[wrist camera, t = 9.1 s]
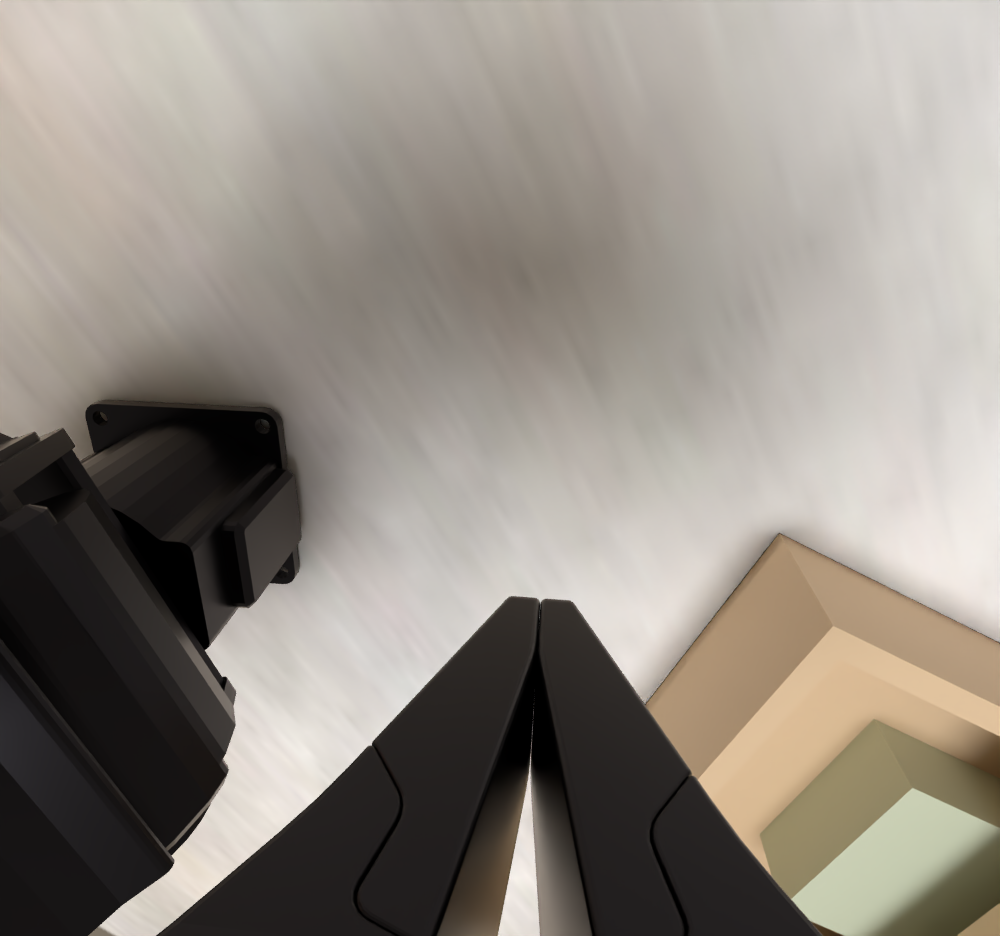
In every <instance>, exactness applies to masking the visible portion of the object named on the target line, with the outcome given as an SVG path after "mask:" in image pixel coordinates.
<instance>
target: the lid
mask: <svg viewBox="0 0 1000 936" xmlns="http://www.w3.org/2000/svg"><path fill="white" fill-rule="evenodd" d="M957 936H1000V903H999V904H998V905H996V906H995V907H994V908H992V909H991V910H990V911H988V912H987V913H986V914H984V915H983V916H982V917H981V918H979V919H978V920H977V921H975V922H974V923H973V924H971V925H970V926H969V927H967V928H966V929H965V930H963V931H962V932H961V933H959V934H958V935H957Z"/></svg>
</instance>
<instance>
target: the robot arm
mask: <svg viewBox="0 0 1000 936" xmlns="http://www.w3.org/2000/svg"><path fill="white" fill-rule="evenodd" d="M100 411H101V412H103V413H104V414H105V415H106V416H107V418H108V421H105V420H104V419H103V418H102V417H101V414H100ZM85 413H86V421H87V425H88V429H89V433H90V438H91V442H92V446H93V450H94V453H93V454H91V455H90V456H88V457H86V458H85V459H83V460H81V461H79V459H78V458H77V456H76V455H75V453H74V452H73V450H72V449H73V448H74V447H75V445H74V444H73V442H72V440H71V439H70V437H69V436H68V434H67V433H66V431H65V430H64V428H61V429H58V430H56V431H53V432H51V433H48V434H46V435H43V436H41V437H38V435H37V434H36V432H32V433H29V434H27V435H24V436H21V437H19V438H18V437H15V438H11V437H9V436H6V435H4V434H1V433H0V936H88V935H89V934H90V933H92V932H93V931H94V930H95V929H96V928H97V927H98V926H99V925H100V924H102V923H103V922H104V921H105V920H106V919H107V918H108V917H109V916H111V915H112V914H113V913H114V912H115V911H116V910H117V909H118V908H120V907H121V906H122V905H123V904H124V903H126V902H127V901H129V900H130V899H132V898H133V897H134V896H136V895H137V894H139V893H140V892H141V891H143V890H144V889H146V888H147V887H148V886H150V885H151V884H153V883H154V882H155V881H157V880H158V879H160V878H161V877H162V876H164V875H165V874H166V873H168V872H169V870H170V869H171V868H172V866H173V864H174V859H173V857H172V855H173V854H174V852H175V851H176V850H177V849H178V848H179V847H180V846H181V845H182V844H183V843H184V842H185V841H186V840H187V839H188V837H189V836H190V835H191V834H192V832H193V831H194V830H195V828H196V827H197V826H198V824H199V823H200V822H201V820H202V818H203V817H204V815H205V813H206V811H207V810H208V808H209V806H210V804H211V802H212V800H213V799H214V797H215V796H216V794H217V793H218V791H219V790H220V788H221V787H222V785H223V784H224V781H225V779H226V776H227V773H228V770H229V769H228V766H227V764H226V763H225V761H224V760H223V758H224V756H225V754H226V751H227V748H228V746H229V743H230V740H231V737H232V734H233V731H234V728H235V726H236V724H235V716H234V707H233V706H234V701H235V696H236V690H235V689H234V687H233V686H232V684H231V683H230V681H229V680H228V678H227V677H222V676H221V675H220V673H219V672H218V670H217V669H216V667H215V666H214V664H213V663H212V661H211V660H210V658H209V656H208V655H207V653H206V652H205V650H206V649H207V648H208V647H209V646H210V645H211V643H212V642H213V641H214V640H215V638H216V637H217V636H218V634H219V633H220V632H221V630H222V629H223V628H224V626H225V625H226V624H227V622H228V621H229V620H230V618H231V617H232V616H233V614H234V613H235V612H236V610H237V609H238V608H249V607H251V606H252V605H253V604H254V603H255V602H256V601H257V600H258V598H259V597H260V596H261V594H262V593H263V591H264V590H265V589H266V587H267V586H268V585H269V583H276V584H288V583H290V582H292V581H293V579H294V578H295V576H296V575H297V573H298V572H299V561H298V552H297V544H298V543H299V542H300V540H301V527H300V518H299V509H298V501H297V492H296V483H295V476H294V475H293V473H292V472H291V471H290V470H289V469H288V467H287V459H286V450H285V442H284V433H283V425H282V420H281V417H280V416H279V415H278V413H277V412H275V411H274V410H272V409H269V408H261V407H240V406H219V405H198V404H177V403H156V402H135V401H114V400H102V401H98V402H96V403H94V404H92V405H90V406H89V407H88V408H87V410H86V412H85ZM260 419H264V420H266V421H267V422H268V423H269V425H270V429H269V430H268V429H265V428H263V427H262V426H261V424H260ZM281 566H283V567H285V568H286V569H287V570H288V572H284V571H282V570H281V569H280V568H281ZM539 615H540V618H539ZM534 696H535V697H534ZM533 711H534V714H533ZM532 727H533V731H532ZM531 742H532V748H531ZM530 756H531V796H532V812H533V828H534V844H535V861H536V877H537V893H538V909H539V925H540V936H823V935H822V934H821V933H820V932H819V930H818V929H817V928H816V927H815V926H814V925H813V924H812V922H811V921H810V920H809V919H808V918H807V917H806V916H805V914H804V913H803V912H802V911H801V910H800V909H799V908H798V906H797V905H796V904H795V903H794V902H793V901H792V899H791V898H790V897H789V896H788V895H787V894H786V893H785V891H784V890H783V889H782V888H781V887H780V886H779V885H778V883H777V882H776V881H775V880H774V879H773V877H772V876H771V875H770V874H769V873H768V871H767V870H766V869H765V868H764V867H763V865H762V864H761V863H760V862H759V860H758V859H757V858H756V857H755V856H754V854H753V853H752V852H751V851H750V850H749V848H748V847H747V846H746V845H745V844H744V842H743V841H742V840H741V839H740V837H739V836H738V835H737V833H736V832H735V831H734V829H733V828H732V827H731V825H730V824H729V823H728V821H727V820H726V819H725V817H724V816H723V815H722V813H721V812H720V810H719V809H718V808H717V806H716V805H715V804H714V802H713V801H712V800H711V798H710V797H709V795H708V794H707V792H706V791H705V790H704V788H703V787H702V785H701V784H700V782H699V781H698V779H697V778H696V777H695V776H692V772H691V770H690V768H689V767H688V766H687V764H686V763H685V761H684V760H683V758H682V757H681V756H680V754H679V753H678V751H677V750H676V748H675V747H674V746H673V744H672V743H671V741H670V740H669V738H668V737H667V736H666V734H665V733H664V731H663V730H662V728H661V727H660V726H659V724H658V723H657V721H656V720H655V718H654V717H653V716H652V714H651V713H650V711H649V710H648V708H647V707H646V706H645V704H644V703H643V701H642V700H641V698H640V697H639V696H638V694H637V693H636V691H635V690H634V688H633V687H632V686H631V684H630V683H629V681H628V680H627V678H626V677H625V676H624V674H623V673H622V671H621V670H620V668H619V667H618V666H617V664H616V663H615V661H614V660H613V658H612V657H611V656H610V654H609V653H608V651H607V650H606V648H605V647H604V646H603V644H602V643H601V641H600V640H599V638H598V637H597V636H596V634H595V633H594V631H593V630H592V628H591V627H590V626H589V624H588V623H587V621H586V620H585V619H584V617H583V616H582V614H581V613H580V611H579V610H578V609H577V607H576V606H575V604H574V603H573V602H571V601H569V600H556V599H544V600H542V602H541V604H540V602H539V600H538V599H537V598H529V597H516V596H511V597H509V598H507V599H506V600H505V601H504V602H503V603H502V605H501V606H500V607H499V608H498V609H497V610H496V611H495V612H494V613H493V614H492V615H491V616H490V617H489V618H488V619H487V621H486V622H485V623H484V624H483V625H482V626H481V627H480V628H479V629H478V630H477V631H476V632H475V633H474V634H473V635H472V636H471V638H470V639H469V640H468V641H467V642H466V643H465V644H464V645H463V646H462V647H461V648H460V649H459V650H458V651H457V652H456V654H455V655H454V656H453V657H452V658H451V659H450V660H449V661H448V662H447V663H446V664H445V665H444V666H443V667H442V668H441V669H440V671H439V672H438V673H437V674H436V675H435V676H434V677H433V678H432V679H431V680H430V681H429V682H428V683H427V684H426V685H425V687H424V688H423V689H422V690H421V691H420V692H419V693H418V694H417V695H416V696H415V697H414V698H413V699H412V700H411V701H410V703H409V704H408V705H407V706H406V707H405V708H404V709H403V710H402V711H401V712H400V713H399V714H398V715H397V716H396V717H395V718H394V720H393V721H392V722H391V723H390V724H389V725H388V726H387V727H386V728H385V729H384V730H383V731H382V732H381V733H380V734H379V736H378V737H377V738H376V739H375V740H374V741H373V742H372V746H368V747H367V748H366V749H365V750H364V751H363V752H362V753H361V754H360V755H359V756H358V757H357V759H356V760H355V761H354V762H353V763H352V764H351V765H350V766H349V767H348V768H347V769H346V770H345V771H344V772H343V773H342V774H341V775H340V776H339V777H338V778H337V779H336V780H335V781H334V782H333V783H332V784H331V785H330V786H329V787H328V788H327V789H326V790H325V791H324V792H323V793H322V794H321V795H320V796H319V797H318V798H317V799H316V800H315V801H314V802H312V803H311V804H310V805H309V806H308V807H307V808H306V809H305V810H303V811H302V812H301V813H300V814H299V815H298V816H297V817H296V818H295V819H293V820H292V821H291V822H290V823H289V824H288V825H287V826H286V827H284V828H283V829H282V830H281V831H280V832H279V833H278V834H277V835H275V836H274V837H273V838H272V839H271V840H269V841H268V842H267V843H266V844H265V845H264V846H262V847H261V848H260V849H259V850H258V851H256V852H255V853H254V854H253V855H252V856H251V857H249V858H248V859H247V860H246V861H245V862H244V863H242V864H241V865H240V866H239V867H238V868H236V869H235V870H234V871H233V872H232V873H231V874H229V875H228V876H227V877H226V878H225V879H223V880H222V881H221V882H220V883H219V884H218V885H216V886H215V887H214V888H213V889H212V890H211V891H209V892H208V893H207V894H206V895H205V896H203V897H202V898H201V899H200V900H199V901H198V902H196V903H195V904H194V905H193V906H192V907H191V908H189V909H188V910H187V911H186V912H185V913H183V914H182V915H181V916H180V917H179V918H178V919H176V920H175V921H174V922H173V923H171V924H170V925H169V926H168V927H166V928H165V929H164V930H163V931H161V932H160V933H159V934H158V935H156V936H498V931H499V926H500V920H501V915H502V910H503V905H504V900H505V895H506V890H507V885H508V879H509V874H510V869H511V864H512V859H513V854H514V849H515V844H516V838H517V833H518V828H519V823H520V818H521V813H522V808H523V803H524V797H525V792H526V787H527V781H528V774H529V766H530Z"/></svg>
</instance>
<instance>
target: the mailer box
mask: <svg viewBox="0 0 1000 936" xmlns="http://www.w3.org/2000/svg"><path fill="white" fill-rule="evenodd" d="M645 706H646V707H647V708H648V710H649V711H650V713H651V714H652V716H653V717H654V718H655V720H656V721H657V723H658V724H659V726H660V727H661V728H662V730H663V731H664V733H665V734H666V736H667V737H668V738H669V740H670V741H671V743H672V744H673V746H674V747H675V748H676V750H677V751H678V753H679V754H680V756H681V757H682V758H683V760H684V761H685V763H686V764H687V766H688V767H689V768H690V770H691V772H692V776H695V777H696V778H697V779H698V781H699V782H700V784H701V785H702V787H703V788H704V790H705V791H706V792H707V794H708V795H709V797H710V798H711V800H712V801H713V802H714V804H715V805H716V806H717V808H718V809H719V810H720V812H721V813H722V815H723V816H724V817H725V819H726V820H727V821H728V823H729V824H730V825H731V827H732V828H733V829H734V831H735V832H736V833H737V835H738V836H739V837H740V839H741V840H742V841H743V842H744V844H745V845H746V846H747V847H748V848H749V850H750V851H751V852H752V853H753V854H754V856H755V857H756V858H757V859H758V860H759V862H760V863H761V864H762V865H763V867H764V868H765V869H766V870H767V871H768V873H769V874H770V875H771V876H772V877H773V879H774V880H775V881H776V882H777V883H778V885H779V886H780V887H781V888H782V889H783V890H784V891H785V893H786V894H787V895H788V896H789V897H790V898H791V899H792V901H793V902H794V903H795V904H796V905H797V906H798V908H799V909H800V910H801V911H802V912H803V913H804V914H805V916H806V917H807V918H808V919H809V920H810V921H811V922H812V924H813V925H814V926H815V927H816V928H817V929H818V930H819V932H820V933H821V934H822V935H823V936H957V935H958V934H959V933H961V932H962V931H963V930H965V929H966V928H967V927H969V926H970V925H971V924H973V923H974V922H975V921H977V920H978V919H979V918H981V917H982V916H983V915H984V914H986V913H987V912H988V911H990V910H991V909H992V908H994V907H995V906H996V905H998V904H999V903H1000V643H998V642H996V641H994V640H992V639H990V638H988V637H986V636H984V635H982V634H980V633H978V632H976V631H974V630H972V629H970V628H968V627H966V626H964V625H962V624H960V623H958V622H956V621H954V620H952V619H950V618H948V617H946V616H944V615H942V614H940V613H938V612H936V611H934V610H932V609H930V608H928V607H926V606H924V605H922V604H920V603H918V602H916V601H914V600H912V599H910V598H908V597H906V596H904V595H902V594H900V593H898V592H896V591H894V590H892V589H890V588H888V587H886V586H884V585H882V584H880V583H878V582H876V581H874V580H872V579H870V578H868V577H866V576H864V575H862V574H860V573H858V572H856V571H854V570H852V569H850V568H848V567H846V566H844V565H842V564H840V563H838V562H836V561H834V560H832V559H830V558H828V557H826V556H824V555H822V554H820V553H818V552H816V551H814V550H812V549H810V548H808V547H806V546H804V545H802V544H800V543H798V542H796V541H794V540H792V539H790V538H788V537H786V536H784V535H782V534H780V533H779V534H778V536H777V537H776V538H775V539H774V541H773V542H772V543H771V545H770V546H769V547H768V548H767V550H766V551H765V552H764V554H763V555H762V556H761V557H760V559H759V560H758V561H757V562H756V564H755V565H754V566H753V568H752V569H751V570H750V571H749V573H748V574H747V575H746V577H745V578H744V579H743V580H742V582H741V583H740V584H739V586H738V587H737V588H736V589H735V591H734V592H733V593H732V595H731V596H730V597H729V598H728V600H727V601H726V602H725V603H724V605H723V606H722V607H721V609H720V610H719V611H718V612H717V614H716V615H715V616H714V618H713V619H712V620H711V621H710V623H709V624H708V625H707V627H706V628H705V629H704V630H703V632H702V633H701V634H700V636H699V637H698V638H697V639H696V641H695V642H694V643H693V644H692V646H691V647H690V648H689V650H688V651H687V652H686V653H685V655H684V656H683V657H682V659H681V660H680V661H679V662H678V664H677V665H676V666H675V668H674V669H673V670H672V671H671V673H670V674H669V675H668V677H667V678H666V679H665V680H664V682H663V683H662V684H661V686H660V687H659V688H658V689H657V691H656V692H655V693H654V694H653V696H652V697H651V698H650V700H649V701H648V702H647V703H646V705H645Z"/></svg>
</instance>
